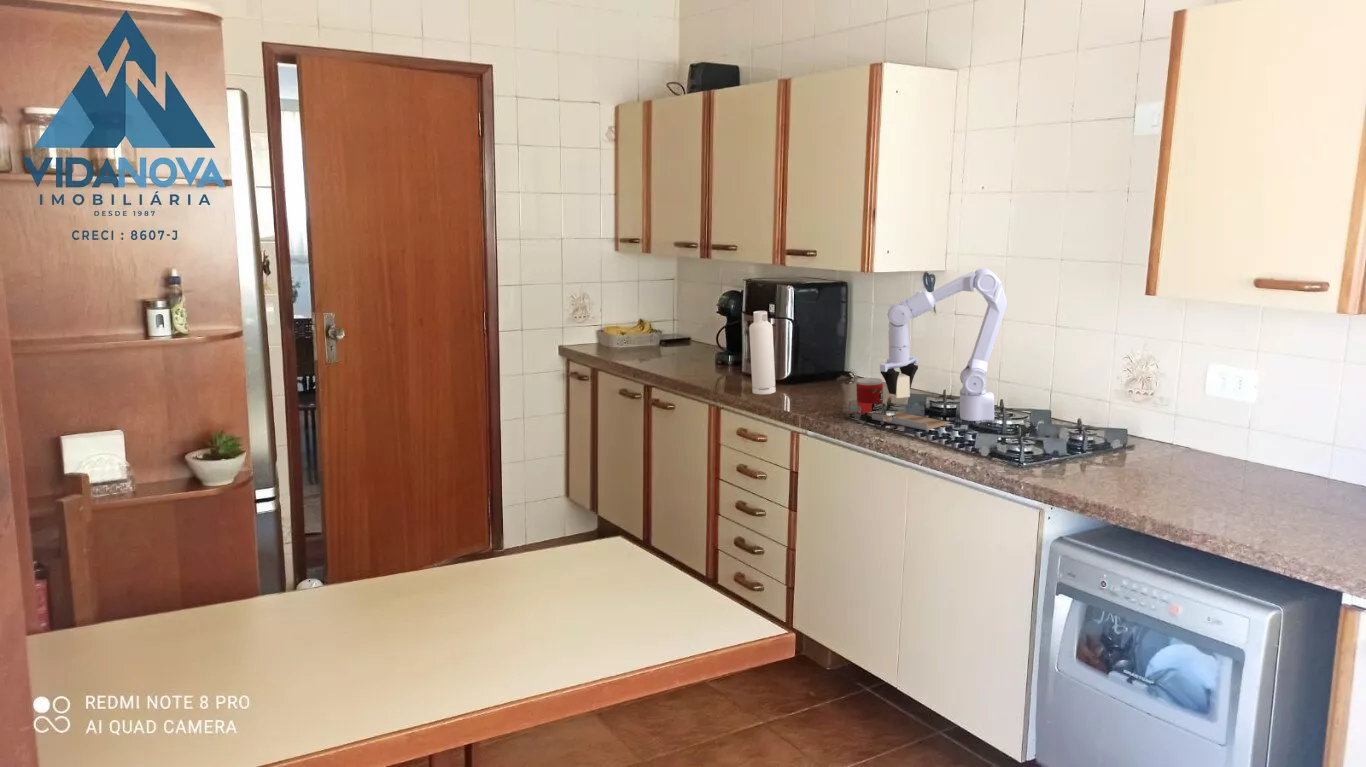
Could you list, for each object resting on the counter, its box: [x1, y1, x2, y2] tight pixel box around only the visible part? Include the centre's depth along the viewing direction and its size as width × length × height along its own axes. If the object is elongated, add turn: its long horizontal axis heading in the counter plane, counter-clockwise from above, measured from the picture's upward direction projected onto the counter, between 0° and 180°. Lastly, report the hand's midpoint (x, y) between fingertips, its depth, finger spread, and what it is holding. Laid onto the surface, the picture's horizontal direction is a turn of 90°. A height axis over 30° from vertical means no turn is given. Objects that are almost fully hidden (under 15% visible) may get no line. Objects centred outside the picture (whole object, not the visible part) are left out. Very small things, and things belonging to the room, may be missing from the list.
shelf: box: [871, 411, 952, 432], centre depth 273 cm, size 20×11×3 cm, turn 37°
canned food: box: [855, 377, 884, 415], centre depth 286 cm, size 8×8×11 cm
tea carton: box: [889, 372, 911, 399], centre depth 274 cm, size 5×4×6 cm
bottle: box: [748, 310, 776, 395], centre depth 325 cm, size 8×8×28 cm
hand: (899, 391), depth 274 cm, fingers closed on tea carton, 6 cm apart
